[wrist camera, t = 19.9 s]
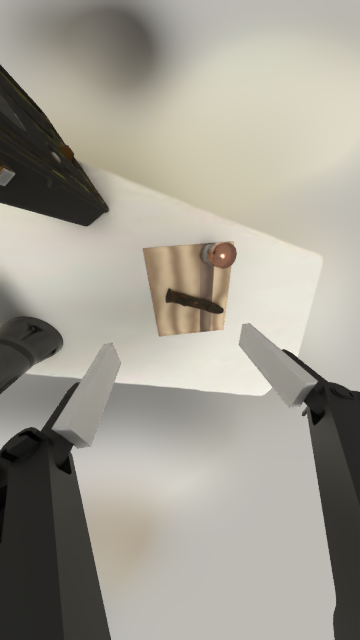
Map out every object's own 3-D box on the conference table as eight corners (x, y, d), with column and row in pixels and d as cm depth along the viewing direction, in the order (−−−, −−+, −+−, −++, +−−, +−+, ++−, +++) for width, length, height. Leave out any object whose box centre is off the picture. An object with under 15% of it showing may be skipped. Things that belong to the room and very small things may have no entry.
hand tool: (164, 298, 40) (164, 304, 35) (168, 286, 38) (168, 291, 34) (217, 314, 44) (222, 321, 40) (222, 304, 42) (228, 310, 38)
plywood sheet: (159, 336, 46) (159, 336, 46) (142, 248, 33) (142, 248, 32) (223, 329, 47) (223, 329, 47) (233, 241, 34) (234, 241, 33)
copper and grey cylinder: (199, 263, 35) (212, 269, 25) (199, 245, 33) (214, 243, 23) (215, 262, 36) (234, 267, 25) (216, 244, 33) (238, 241, 23)
